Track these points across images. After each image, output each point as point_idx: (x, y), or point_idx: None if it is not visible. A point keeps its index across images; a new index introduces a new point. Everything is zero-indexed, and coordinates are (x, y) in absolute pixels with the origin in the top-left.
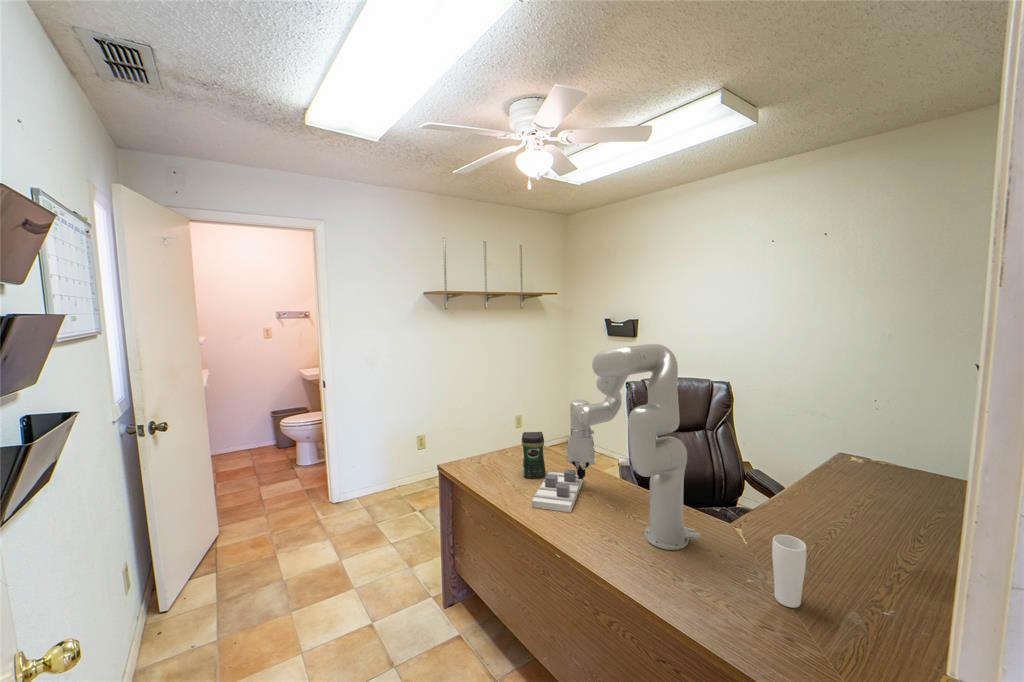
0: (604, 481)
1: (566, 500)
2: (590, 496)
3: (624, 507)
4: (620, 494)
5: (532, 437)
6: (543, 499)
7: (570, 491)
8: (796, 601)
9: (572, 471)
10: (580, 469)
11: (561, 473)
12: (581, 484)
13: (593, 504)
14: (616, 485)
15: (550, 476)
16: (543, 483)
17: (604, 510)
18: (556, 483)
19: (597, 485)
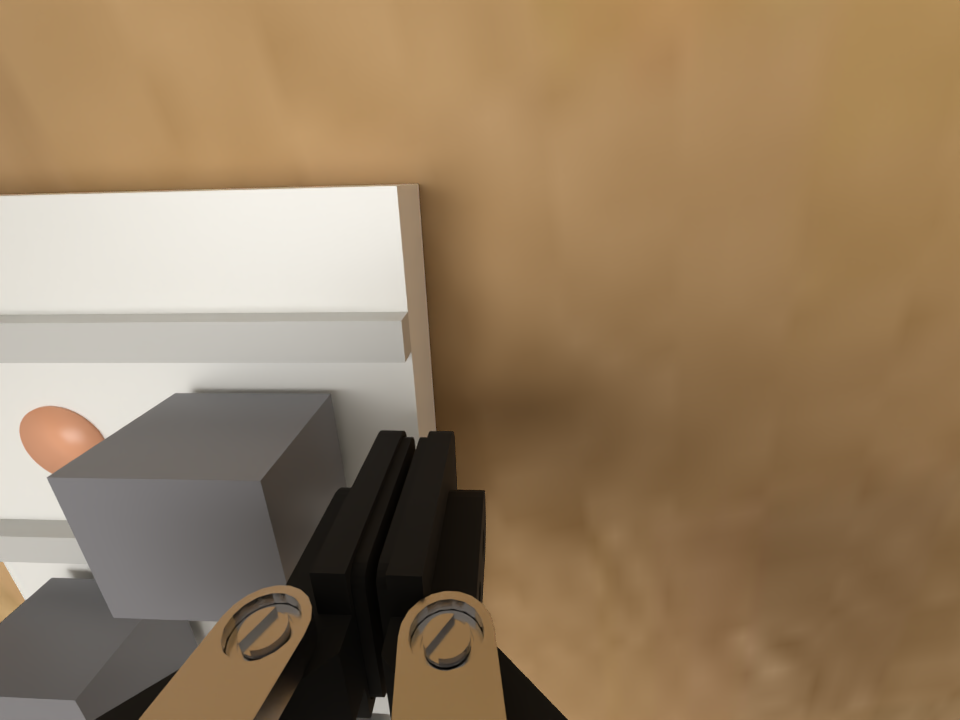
0: (759, 85)
1: None
2: (575, 546)
3: (898, 658)
4: (928, 445)
5: None
6: None
7: (385, 710)
8: None
9: (221, 544)
10: (380, 678)
11: (16, 218)
12: (426, 338)
13: (615, 657)
14: (942, 192)
15: None
16: (20, 570)
17: (709, 713)
18: (168, 648)
19: (642, 271)
